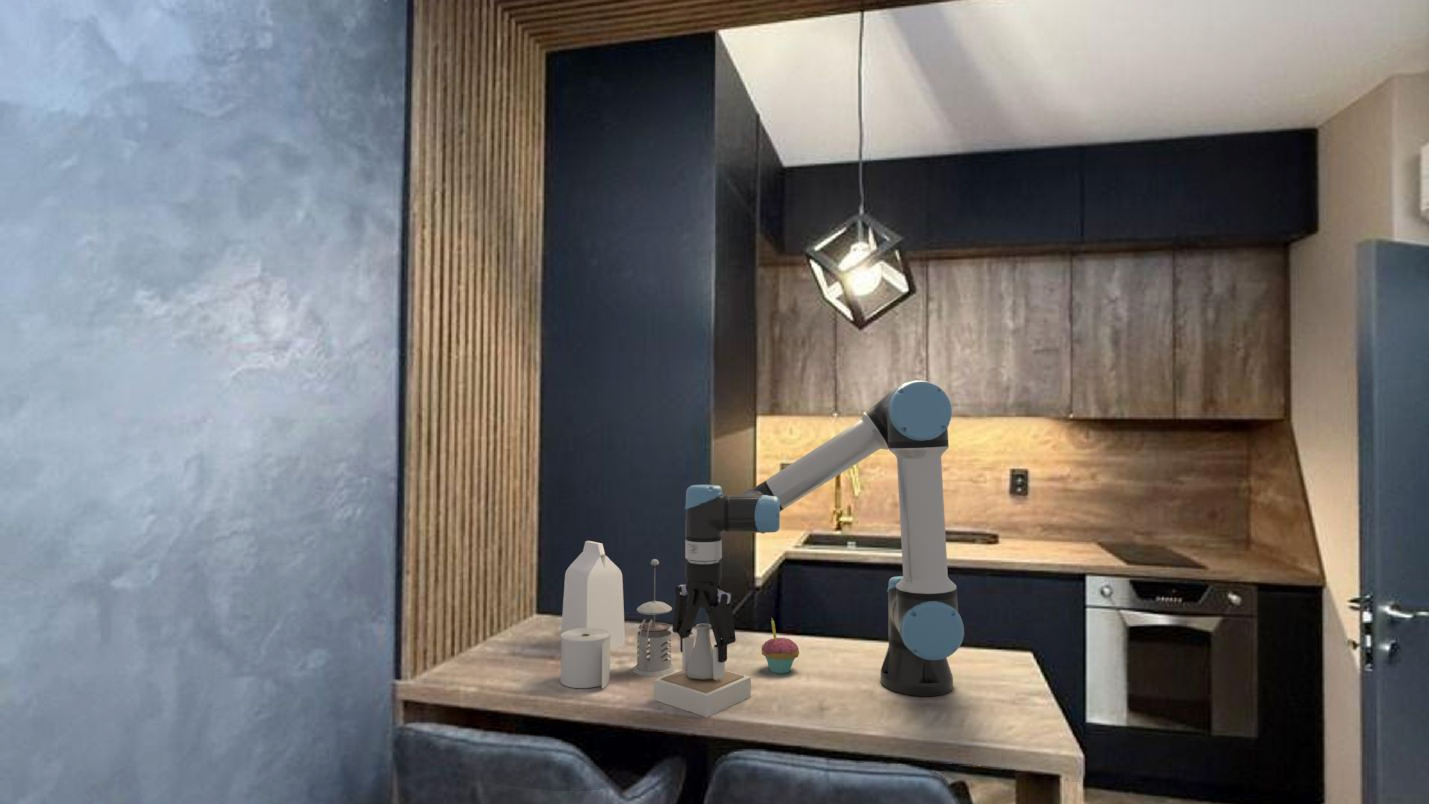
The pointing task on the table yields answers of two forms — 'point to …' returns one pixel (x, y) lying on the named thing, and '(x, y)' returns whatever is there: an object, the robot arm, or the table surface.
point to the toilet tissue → (585, 658)
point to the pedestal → (702, 692)
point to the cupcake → (779, 653)
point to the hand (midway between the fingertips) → (703, 673)
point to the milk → (594, 594)
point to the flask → (701, 655)
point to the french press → (653, 640)
